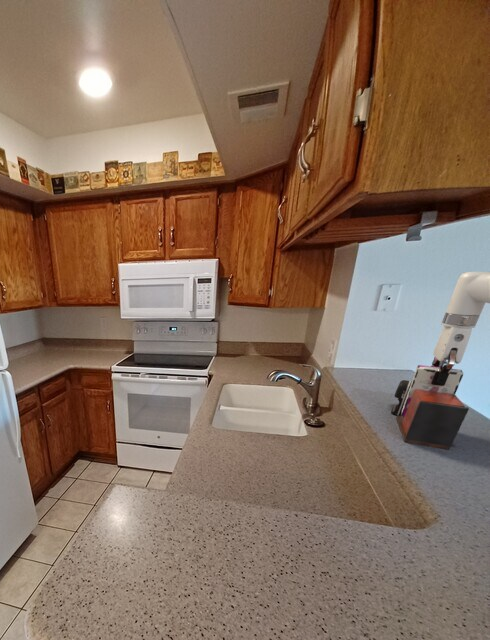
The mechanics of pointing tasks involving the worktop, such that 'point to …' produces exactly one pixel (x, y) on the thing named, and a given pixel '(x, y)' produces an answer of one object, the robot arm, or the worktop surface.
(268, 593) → the worktop surface
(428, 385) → the candy bar box
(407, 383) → the battery charger
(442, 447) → the wooden speaker
